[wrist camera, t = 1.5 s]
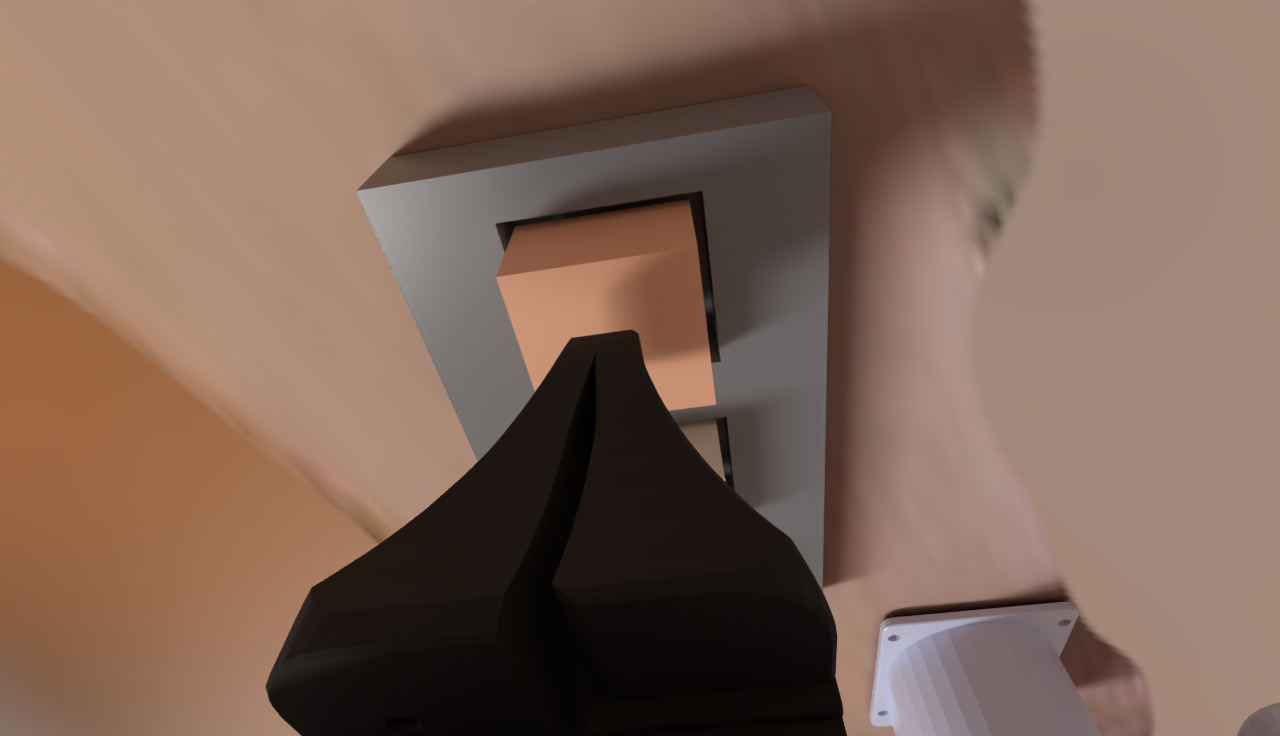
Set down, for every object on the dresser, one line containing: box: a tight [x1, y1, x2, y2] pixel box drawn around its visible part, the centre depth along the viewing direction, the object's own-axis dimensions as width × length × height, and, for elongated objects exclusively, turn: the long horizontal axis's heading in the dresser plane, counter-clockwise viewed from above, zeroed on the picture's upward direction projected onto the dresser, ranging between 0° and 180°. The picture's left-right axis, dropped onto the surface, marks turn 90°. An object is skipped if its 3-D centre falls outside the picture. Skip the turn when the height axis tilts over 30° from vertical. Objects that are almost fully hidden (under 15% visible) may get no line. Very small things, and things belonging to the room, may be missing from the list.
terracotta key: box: [496, 199, 716, 411], centre depth 14 cm, size 4×4×2 cm
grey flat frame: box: [357, 85, 832, 592], centre depth 20 cm, size 20×10×2 cm, turn 9°
